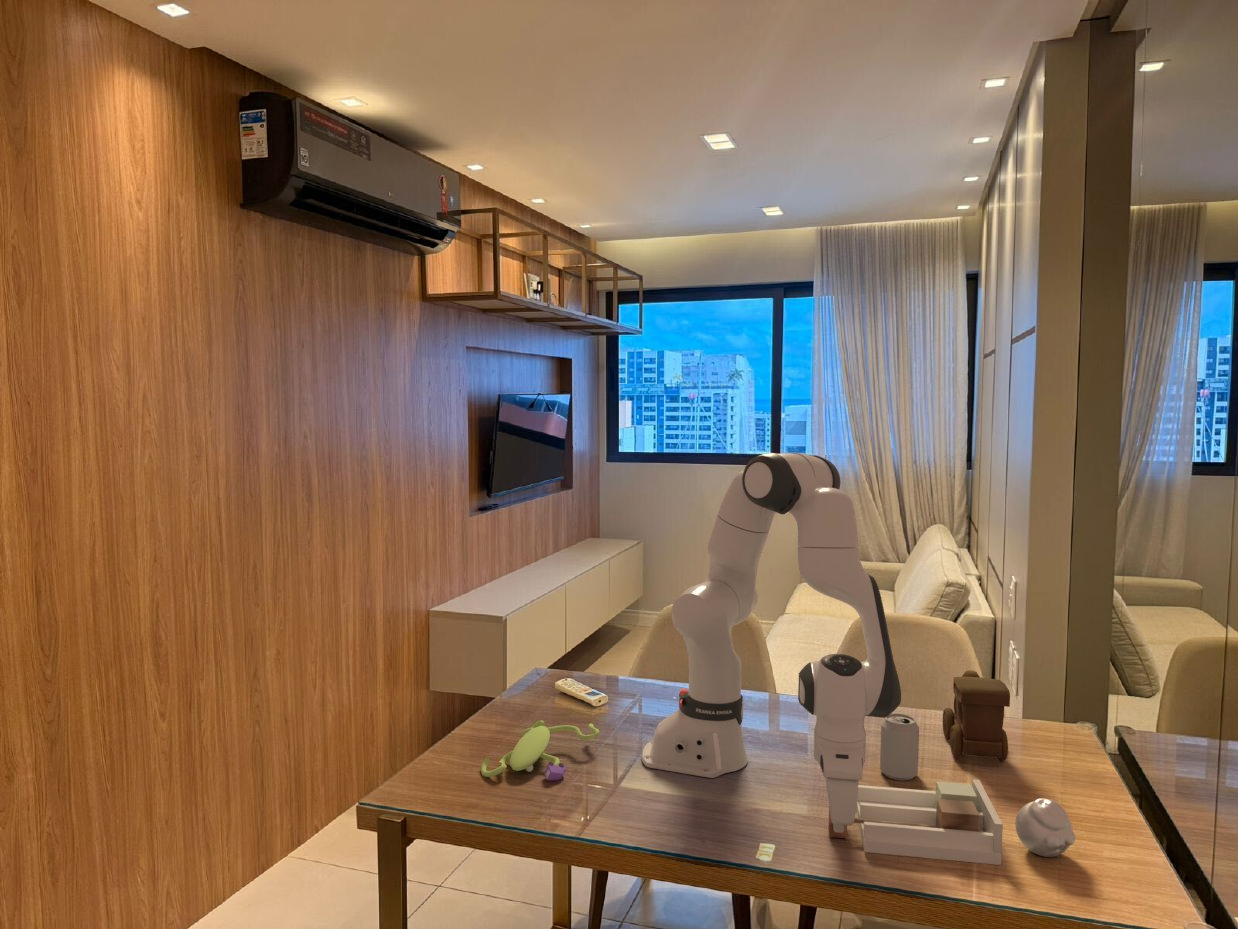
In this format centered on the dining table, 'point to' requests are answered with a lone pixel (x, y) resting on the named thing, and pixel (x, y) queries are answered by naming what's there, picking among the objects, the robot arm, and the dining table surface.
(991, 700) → the wooden toy train
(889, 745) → the can
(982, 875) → the dining table surface
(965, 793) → the sage block
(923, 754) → the dining table surface
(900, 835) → the lane shelf
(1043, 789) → the dining table surface
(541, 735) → the figurine
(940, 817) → the brown block pusher rod
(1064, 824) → the grey round lump
